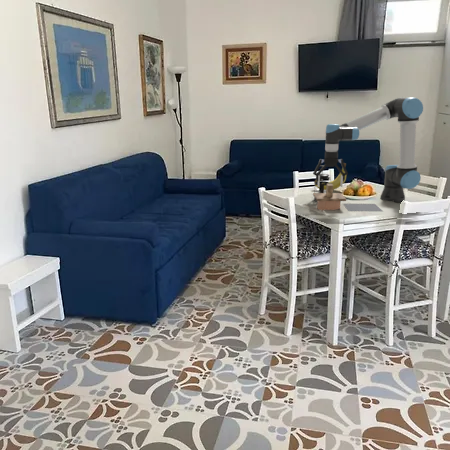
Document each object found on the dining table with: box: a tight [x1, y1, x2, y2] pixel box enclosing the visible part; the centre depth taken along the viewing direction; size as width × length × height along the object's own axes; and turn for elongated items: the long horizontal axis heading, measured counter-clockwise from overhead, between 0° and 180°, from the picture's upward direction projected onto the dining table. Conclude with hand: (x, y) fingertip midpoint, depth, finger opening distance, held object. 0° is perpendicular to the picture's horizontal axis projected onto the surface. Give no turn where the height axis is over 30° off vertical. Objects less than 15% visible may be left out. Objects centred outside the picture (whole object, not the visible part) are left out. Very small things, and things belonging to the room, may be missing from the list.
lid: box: [312, 184, 347, 202], centre depth 269 cm, size 17×17×8 cm
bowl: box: [316, 201, 342, 211], centre depth 271 cm, size 13×13×6 cm
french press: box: [313, 164, 332, 202], centre depth 291 cm, size 12×9×23 cm
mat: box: [342, 203, 383, 212], centre depth 270 cm, size 20×20×1 cm
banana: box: [313, 162, 347, 191], centre depth 323 cm, size 23×6×20 cm, turn 78°
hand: (329, 186), depth 268 cm, fingers open, 13 cm apart
